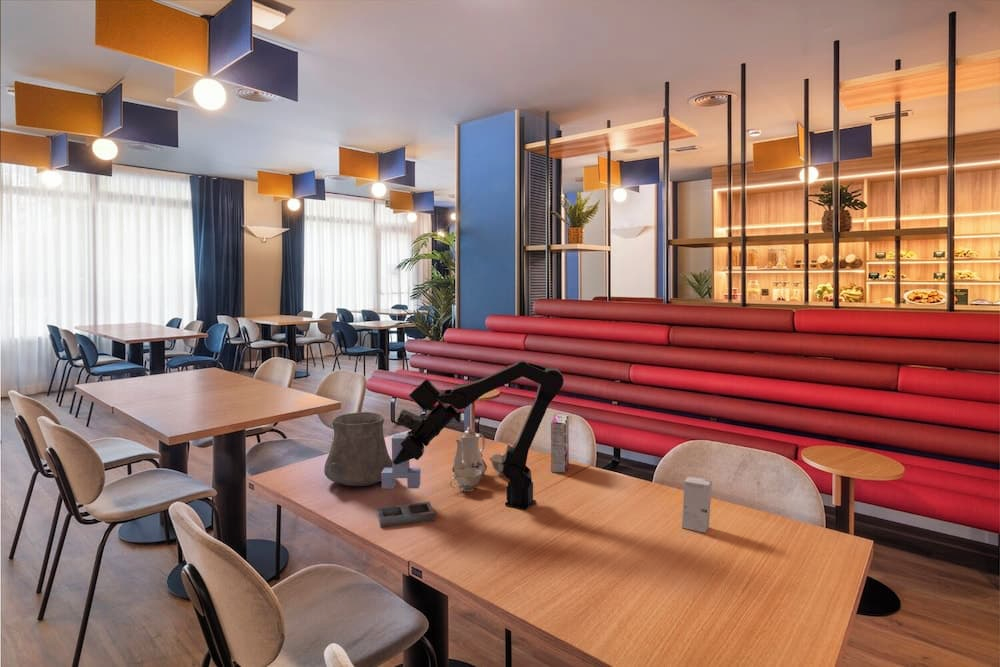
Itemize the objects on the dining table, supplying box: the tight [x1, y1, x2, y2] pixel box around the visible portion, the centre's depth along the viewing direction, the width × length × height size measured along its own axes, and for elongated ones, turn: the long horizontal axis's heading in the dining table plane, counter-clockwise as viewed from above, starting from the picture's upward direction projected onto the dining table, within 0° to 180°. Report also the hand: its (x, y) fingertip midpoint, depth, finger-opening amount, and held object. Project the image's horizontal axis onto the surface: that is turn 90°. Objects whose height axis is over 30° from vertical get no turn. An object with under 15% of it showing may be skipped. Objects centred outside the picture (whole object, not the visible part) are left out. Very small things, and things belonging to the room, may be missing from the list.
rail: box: [376, 501, 436, 528], centre depth 154 cm, size 14×8×2 cm, turn 107°
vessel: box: [323, 411, 392, 487], centre depth 180 cm, size 22×22×20 cm
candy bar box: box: [550, 414, 570, 474], centre depth 193 cm, size 11×5×16 cm, turn 168°
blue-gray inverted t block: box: [381, 433, 422, 489], centre depth 162 cm, size 10×4×14 cm, turn 89°
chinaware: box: [449, 425, 505, 493], centre depth 182 cm, size 28×17×17 cm, turn 149°
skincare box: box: [681, 475, 713, 533], centre depth 147 cm, size 6×4×12 cm
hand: (395, 461), depth 162 cm, fingers closed on blue-gray inverted t block, 4 cm apart
